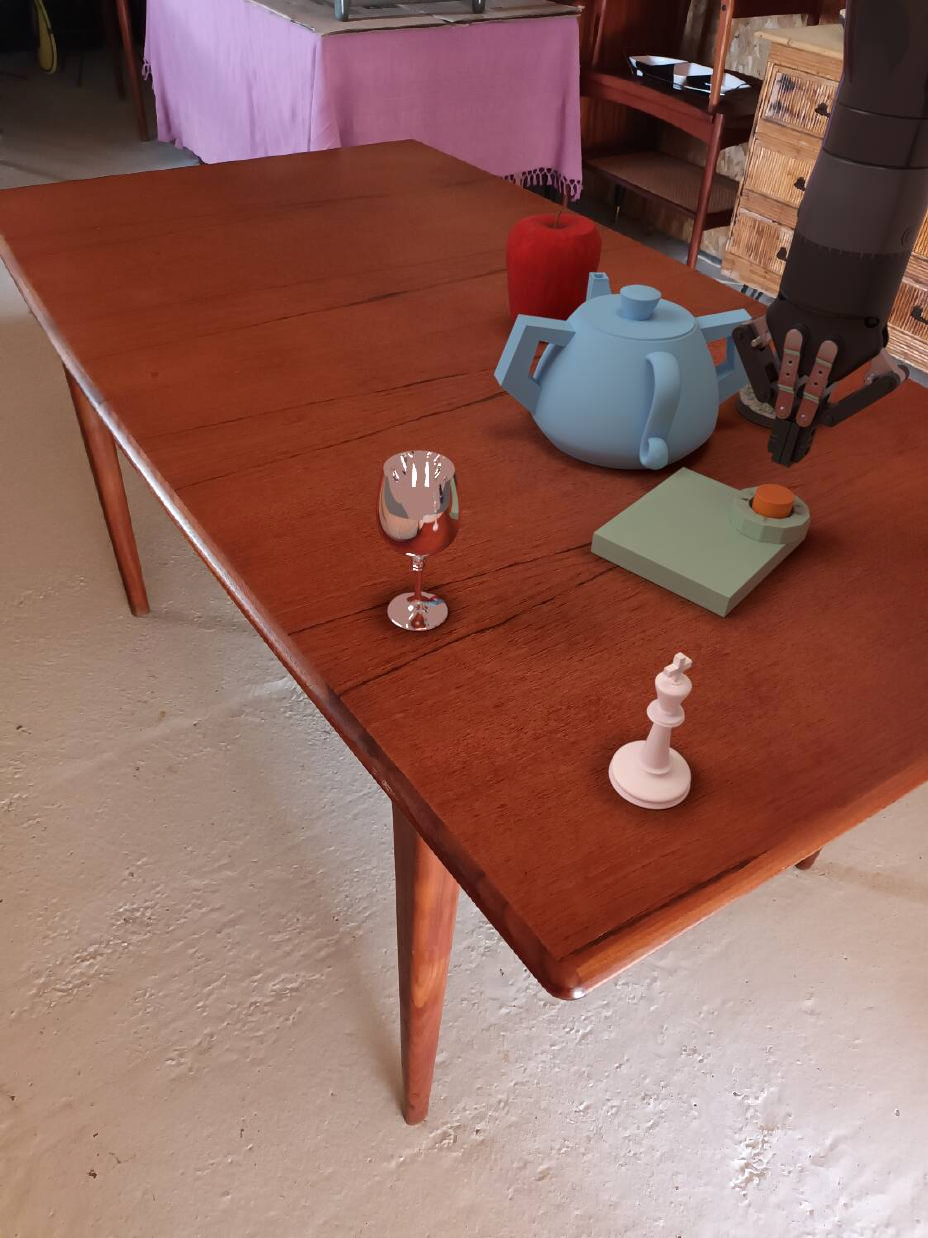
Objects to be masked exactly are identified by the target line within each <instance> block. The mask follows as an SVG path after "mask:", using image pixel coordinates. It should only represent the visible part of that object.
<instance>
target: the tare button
mask: <svg viewBox="0 0 928 1238" xmlns="http://www.w3.org/2000/svg"><path fill="white" fill-rule="evenodd" d="M794 495H795V494H794V492H793V491H792V490H791V489H790V488H787V487H786V486H783V485H780V484H776V483H763V484H761V485H759V487H758V488H757V489H756V493H755V496H754V500H753V503H752V509H753V510H754V511H755V512H756V513H757V514H759V515H762V516H764V517H767V518H774V519H784V518H787V517H788V516H789V515H790V512H791V509H792V506H793V502H794V499H795V496H794Z"/></svg>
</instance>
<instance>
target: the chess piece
mask: <svg viewBox="0 0 928 1238" xmlns="http://www.w3.org/2000/svg"><path fill="white" fill-rule="evenodd" d="M692 664H693V660H692V659H690V657H688V656H686V655H685V654H684V653H682V652H681V651H680V652H677V653H676V654H674V657H673V661H672V663H671V664H668V665H667V666H665V667H664V668H663V671H661V672H659V673H658V674H657V675H656V676H655V680H654V686H655V691H656V694H657V698H656V699H654V700H651V702H650V703H649V705H648V706H647V708H646V714H647V717H648V718H649V720H650V721H651V722H652V723H653V724H652V726H651V728H650V731H649V732H648V735H647V737H646V739H645V740H635V741H632V742H628V743H626V744H624V745H622V746H621V747H620V748H619V749H617V751H616V752H615V753H614V755H613V757H612V759H611V761H610V763H609V767H608V777H609V781H610V784H611V785H612V787H613V788H614V790H615V791H616V792H617V793H618V795H620V797H622V798H623V799H624V800H626V801H628V802H629V803H631V804H632V805H634V806H638V807H641V808H645V809H650V810H662V809H663V810H664V809H669V808H672V807H674V806H677V805H679V804H680V803H681V802H683V801H684V800H685V799H686V798H687V796H688V794H689V792H690V789H691V781H692V774H691V768H690V766H689V765H688V763H687V760H686V759H685V758H684V757H683V756H682V755H681V754H680V753H679V751H677V750H675V749H674V748H672V747H670V746H671V737H672V735H671V734H672V729H673V728H676V727H679V726H680V725H682V724H683V723H684V721H685V719H686V714H685V710H684V707H682V705H681V704H682V703H683V701H684V700H685V699H686V698H687V697H688V696H689V695H690V693H691V691H692V688H693V684H692V681H691V679H690V678H689V677H688V676H687V675H686V674H685V673H683V672H684V671H686V670H688V669H689V668H691V667H692Z"/></svg>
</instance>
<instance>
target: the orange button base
mask: <svg viewBox="0 0 928 1238" xmlns="http://www.w3.org/2000/svg"><path fill="white" fill-rule="evenodd" d="M759 486H760V485H759ZM759 486H752V487H746V488H742V489H741V490H739V489H737V488H735V487H732V486H731V485H727V484H725V483H723V482H721V481H718V480H715V479H713V478H710V477H708V476H707V475H703V474H701V473H698V472H696V471H693V470H691V469H688V468H687V467H684V466H682V467H681V468H679V469H678V470H677V471H675V472H674V473H673V474H672V475H670V476H669V477H667V478H666V479H665V480H663V481H662V482H661V483H659V484H658V485H656V486H655V487H654V488H652V489H651V490H650V491H648V492H646V494H644V495H643V496H641V497H640V498H639V499H637V500H635V502H633V503H632V504H630V505H629V506H628V507H626V508H625V509H624V510H622V511H621V512H620V513H618V514H617V515H616V516H615V517H613V518H612V519H610V520H608V521H607V522H606V523H605V524H603V525H602V526H601V527H599V528H598V529H597V530H595V531H594V532H593V535H592V541H591V546H590V547H591V548H590V553H592V554H594V555H596V556H598V557H600V558H602V559H605V560H606V561H608V562H611V563H612V564H614V565H616V566H619V567H621V568H623V569H625V570H627V571H628V572H631V573H633V574H635V575H637V576H639V577H641V578H642V579H646V581H649V582H651V583H654V584H655V585H657V586H660V587H662V588H664V589H665V590H667V591H670V592H672V593H674V594H676V595H678V596H679V597H682V598H684V599H686V600H688V601H690V602H692V603H694V604H696V605H698V606H700V607H702V608H704V609H706V610H708V611H709V612H712V613H714V614H716V615H718V616H720V617H722V618H725V617H727V615H728V614H730V612H732V611H733V610H734V608H736V606H738V605H739V603H741V602H742V601H743V600H744V599H745V598H746V597H747V596H748V595H749V594H750V593H751V592H752V591H753V590H754V589H755V588H756V587H758V585H759V584H761V582H762V581H763V580H764V579H766V577H768V576H769V574H770V573H771V572H772V571H773V570H774V569H775V568H777V567H778V565H780V564H781V563H782V562H783V560H784V559H786V558H787V557H788V556H789V555H790V554H791V553H792V552H793V551H794V550H795V549H796V548H797V547H798V546H799V545H800V544H801V543H802V542H803V541H804V540H805V539H806V536H807V533H808V531H809V528H810V524H811V520H812V519H811V515H810V510H809V505H808V504H806V502H804V501H803V500H802V499H801V498H799V497H798V495H795V494H794V496H795V499H794V502H793V506H792V509H791V512H790V515H789V516H788V517H787V518H784V519H774V518H767V517H764V516H762V515H759V514H757V513H756V512H755V511H754V510H753V509H752V503H753V500H754V496H755V493H756V489H757V488H758V487H759Z"/></svg>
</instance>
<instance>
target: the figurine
mask: <svg viewBox="0 0 928 1238" xmlns="http://www.w3.org/2000/svg"><path fill="white" fill-rule="evenodd" d="M773 354H774V357H775V360H776V362H777V365H778V367H779V370H780V369H781V362H780V360H779V358H778V355H777V352H776V349H775V351H774V353H773ZM737 395H738V396H737V398H736V399H737V400H736V404H735V405H736V409H737V411H738V413H739V414H740V415H741V416H743V417H744V418H745V419H747V420H748V421H750V422H752V423H754V424H756V425H759V426H763V427H765V428H768V429H772V428H773V424H774V421H775V417H776V414H775V410H774V409H773V408H772V407H771V406H770V405H769V404H768V403H760V402H759V401H758V400H757V399H756V397H755V394H754V392H753V389H752V387H751V384H750V383H749V384H747V385H746V386H744V387H743V388H742V389H740V390H739V391H738V394H737Z"/></svg>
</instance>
